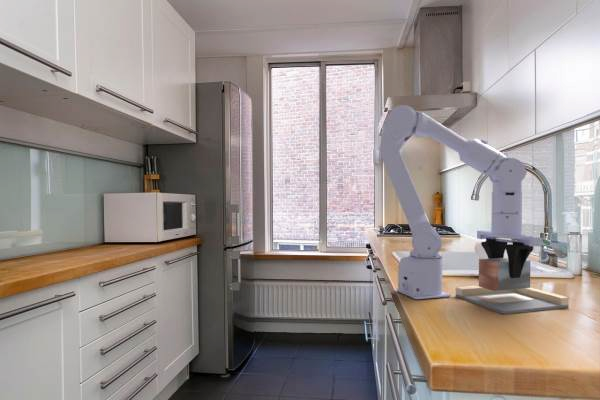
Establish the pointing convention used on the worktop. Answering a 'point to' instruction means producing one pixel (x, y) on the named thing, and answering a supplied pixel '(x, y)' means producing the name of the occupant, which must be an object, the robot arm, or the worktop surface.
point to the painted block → (501, 275)
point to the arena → (512, 299)
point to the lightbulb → (480, 250)
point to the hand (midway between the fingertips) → (505, 275)
